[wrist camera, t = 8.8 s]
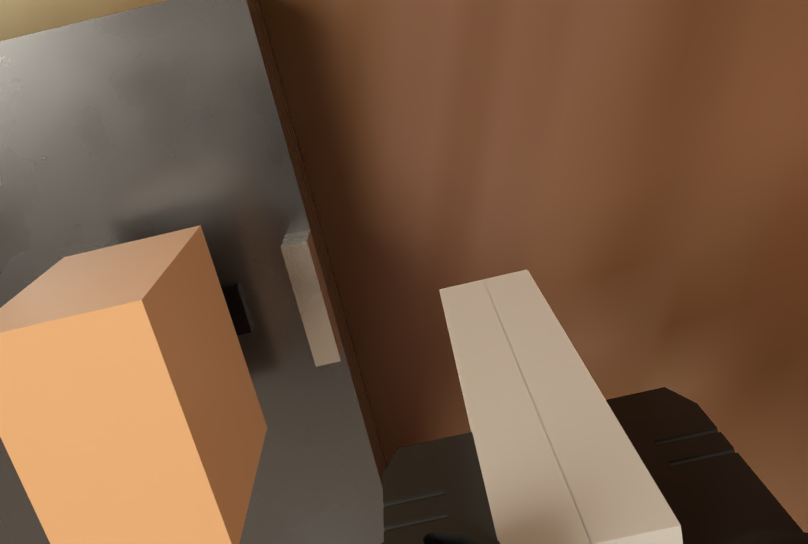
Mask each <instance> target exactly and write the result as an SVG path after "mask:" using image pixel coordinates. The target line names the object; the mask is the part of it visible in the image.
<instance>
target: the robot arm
mask: <svg viewBox="0 0 808 544" xmlns="http://www.w3.org/2000/svg"><path fill="white" fill-rule="evenodd" d="M439 291H440V296H441V300H442V305H443V309H444V313H445V318H446V322H447V327H448V331H449V336H450V340H451V344H452V349H453V353H454V358H455V362H456V366H457V371H458V375H459V380H460V384H461V389H462V393H463V397H464V402H465V406H466V411H467V415H468V420H469V424H470V428H471V433H466V434H461V435H457V436H452V437H448V438H443V439H438V440H434V441H429V442H425V443H420V444H416V445H411V446H406V447H402V448H398V449H397V451H396V452H395V454H394V456H393V458H392V459H391V461H390V463H389V465H388V466H387V468H386V470H385V472H384V473H383V504H384V508H383V522H384V530H385V532H384V542H383V543H381V544H808V533H805V532H803V531H802V530H801V529H800V527H799V526H798V525H797V524H796V522H795V521H794V520H793V519H792V518H791V516H790V515H789V514H788V513H787V512H786V510H785V509H784V508H783V507H782V506H781V504H780V503H779V502H778V501H777V500H776V498H775V497H774V496H773V495H772V494H771V492H770V491H769V490H768V489H767V487H766V486H765V485H764V484H763V483H762V481H761V480H760V479H759V478H758V477H757V475H756V474H755V473H754V472H753V471H752V469H751V468H750V467H749V466H748V465H747V463H746V462H745V461H744V460H743V458H742V457H741V456H740V455H739V454H738V453H735V452H734V448H733V446H732V445H731V444H730V443H729V442H728V440H727V439H726V438H725V437H724V436H723V434H722V433H721V432H719V433H718V431H717V427H716V426H715V425H714V423H713V422H712V421H711V420H710V419H709V417H708V416H707V415H706V414H705V413H704V411H703V410H702V409H701V408H700V407H699V405H698V404H697V403H695V402H693V401H691V400H689V399H687V398H685V397H683V396H681V395H679V394H677V393H675V392H673V391H671V390H669V389H667V388H665V387H663V388H659V389H654V390H650V391H645V392H641V393H636V394H631V395H627V396H622V397H618V398H613V399H609V400H605V398H604V396H603V395H602V393H601V391H600V390H599V388H598V386H597V385H596V383H595V381H594V380H593V378H592V376H591V375H590V373H589V371H588V370H587V368H586V366H585V365H584V363H583V361H582V360H581V358H580V356H579V355H578V353H577V351H576V350H575V348H574V346H573V345H572V343H571V341H570V340H569V338H568V336H567V335H566V333H565V331H564V330H563V328H562V326H561V325H560V323H559V321H558V320H557V318H556V316H555V315H554V313H553V311H552V310H551V308H550V306H549V305H548V303H547V301H546V300H545V298H544V296H543V295H542V293H541V291H540V290H539V288H538V286H537V285H536V283H535V281H534V280H533V278H532V276H531V275H530V273H529V271H528V270H523V271H518V272H514V273H510V274H505V275H501V276H496V277H492V278H487V279H483V280H479V281H474V282H470V283H465V284H461V285H456V286H452V287H448V288H443V289H439Z"/></svg>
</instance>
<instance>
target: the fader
mask: <svg viewBox="0 0 808 544" xmlns="http://www.w3.org/2000/svg"><path fill="white" fill-rule="evenodd" d="M266 431H267V425H266V422H265V419H264V416H263V413H262V410H261V407H260V404H259V401H258V398H257V395H256V392H255V389H254V386H253V383H252V380H251V377H250V374H249V371H248V368H247V364H246V361H245V358H244V355H243V352H242V349H241V346H240V343H239V340H238V337H237V334H236V331H235V328H234V325H233V322H232V319H231V316H230V313H229V310H228V307H227V304H226V301H225V298H224V295H223V292H222V289H221V286H220V283H219V279H218V276H217V273H216V270H215V267H214V264H213V261H212V258H211V255H210V252H209V249H208V246H207V243H206V240H205V237H204V234H203V231H202V228H201V225H200V226H195V227H191V228H187V229H183V230H178V231H174V232H170V233H166V234H161V235H157V236H153V237H149V238H144V239H140V240H136V241H131V242H127V243H123V244H119V245H114V246H110V247H106V248H102V249H97V250H93V251H89V252H85V253H80V254H76V255H72V256H67V257H64V258H62V259H61V260H60V261H59V262H57V263H56V264H55V265H54V266H52V267H51V268H50V269H49V270H47V271H46V272H45V273H44V274H42V275H41V276H40V277H39V278H37V279H36V280H35V281H33V282H32V283H31V284H30V285H28V286H27V287H26V288H25V289H23V290H22V291H21V292H20V293H18V294H17V295H16V296H15V297H13V298H12V299H11V300H10V301H8V302H7V303H6V304H5V305H3V306H2V307H1V308H0V437H1V439H2V441H3V444H4V446H5V448H6V450H7V452H8V454H9V456H10V459H11V461H12V463H13V465H14V467H15V469H16V471H17V474H18V476H19V478H20V480H21V482H22V484H23V486H24V489H25V491H26V493H27V495H28V497H29V499H30V501H31V503H32V506H33V508H34V510H35V512H36V514H37V516H38V518H39V521H40V523H41V525H42V527H43V529H44V531H45V533H46V536H47V538H48V540H49V542H50V544H239V543H240V539H241V535H242V531H243V527H244V522H245V518H246V514H247V510H248V506H249V502H250V497H251V493H252V489H253V485H254V481H255V476H256V472H257V468H258V464H259V460H260V456H261V451H262V447H263V443H264V439H265V435H266Z"/></svg>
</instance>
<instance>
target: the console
mask: <svg viewBox="0 0 808 544" xmlns="http://www.w3.org/2000/svg"><path fill="white" fill-rule="evenodd" d="M200 225H201V228H202V231H203V234H204V237H205V240H206V243H207V246H208V249H209V252H210V255H211V258H212V261H213V264H214V267H215V270H216V273H217V276H218V279H219V283H220V286H221V289H222V292H223V295H224V298H225V301H226V304H227V307H228V310H229V313H230V316H231V319H232V322H233V325H234V328H235V331H236V334H237V337H238V340H239V343H240V346H241V349H242V352H243V355H244V358H245V361H246V364H247V368H248V371H249V374H250V377H251V380H252V383H253V386H254V389H255V392H256V395H257V398H258V401H259V404H260V407H261V410H262V413H263V416H264V419H265V422H266V425H267V431H266V435H265V439H264V443H263V447H262V451H261V456H260V460H259V464H258V468H257V472H256V476H255V481H254V485H253V489H252V493H251V497H250V502H249V506H248V510H247V514H246V518H245V522H244V527H243V531H242V535H241V539H240V543H239V544H381V543H383V542H384V532H385V530H384V522H383V508H384V504H383V473H384V472H385V470H386V468H387V467H386V463H385V460H384V456H383V452H382V449H381V445H380V441H379V438H378V434H377V431H376V427H375V423H374V420H373V416H372V412H371V409H370V405H369V401H368V398H367V394H366V390H365V387H364V383H363V379H362V376H361V372H360V369H359V365H358V361H357V358H356V354H355V350H354V347H353V343H352V339H351V336H350V332H349V328H348V325H347V321H346V317H345V314H344V310H343V307H342V303H341V299H340V296H339V292H338V288H337V285H336V281H335V277H334V274H333V270H332V266H331V263H330V259H329V256H328V252H327V248H326V245H325V241H324V237H323V234H322V230H321V226H320V223H319V219H318V215H317V212H316V208H315V204H314V201H313V197H312V194H311V190H310V186H309V183H308V179H307V175H306V172H305V168H304V164H303V161H302V157H301V153H300V150H299V146H298V142H297V139H296V135H295V132H294V128H293V124H292V121H291V117H290V113H289V110H288V106H287V102H286V99H285V95H284V91H283V88H282V84H281V80H280V77H279V73H278V70H277V66H276V62H275V59H274V55H273V51H272V48H271V44H270V40H269V37H268V33H267V29H266V26H265V22H264V18H263V15H262V11H261V8H260V4H259V0H169V1H165V2H160V3H156V4H152V5H148V6H144V7H140V8H136V9H132V10H128V11H123V12H119V13H115V14H111V15H107V16H103V17H99V18H95V19H91V20H86V21H82V22H78V23H74V24H70V25H66V26H62V27H58V28H54V29H49V30H45V31H41V32H37V33H33V34H29V35H25V36H21V37H17V38H12V39H8V40H4V41H0V308H1V307H2V306H3V305H5V304H6V303H7V302H8V301H10V300H11V299H12V298H13V297H15V296H16V295H17V294H18V293H20V292H21V291H22V290H23V289H25V288H26V287H27V286H28V285H30V284H31V283H32V282H33V281H35V280H36V279H37V278H39V277H40V276H41V275H42V274H44V273H45V272H46V271H47V270H49V269H50V268H51V267H52V266H54V265H55V264H56V263H57V262H59V261H60V260H61V259H62V258H64V257H67V256H72V255H76V254H80V253H85V252H89V251H93V250H97V249H102V248H106V247H110V246H114V245H119V244H123V243H127V242H131V241H136V240H140V239H144V238H149V237H153V236H157V235H161V234H166V233H170V232H174V231H178V230H183V229H187V228H191V227H195V226H200ZM0 544H50V542H49V540H48V538H47V536H46V533H45V531H44V529H43V527H42V525H41V523H40V521H39V518H38V516H37V514H36V512H35V510H34V508H33V506H32V503H31V501H30V499H29V497H28V495H27V493H26V491H25V489H24V486H23V484H22V482H21V480H20V478H19V476H18V474H17V471H16V469H15V467H14V465H13V463H12V461H11V459H10V456H9V454H8V452H7V450H6V448H5V446H4V444H3V441H2V439H1V437H0Z"/></svg>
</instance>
